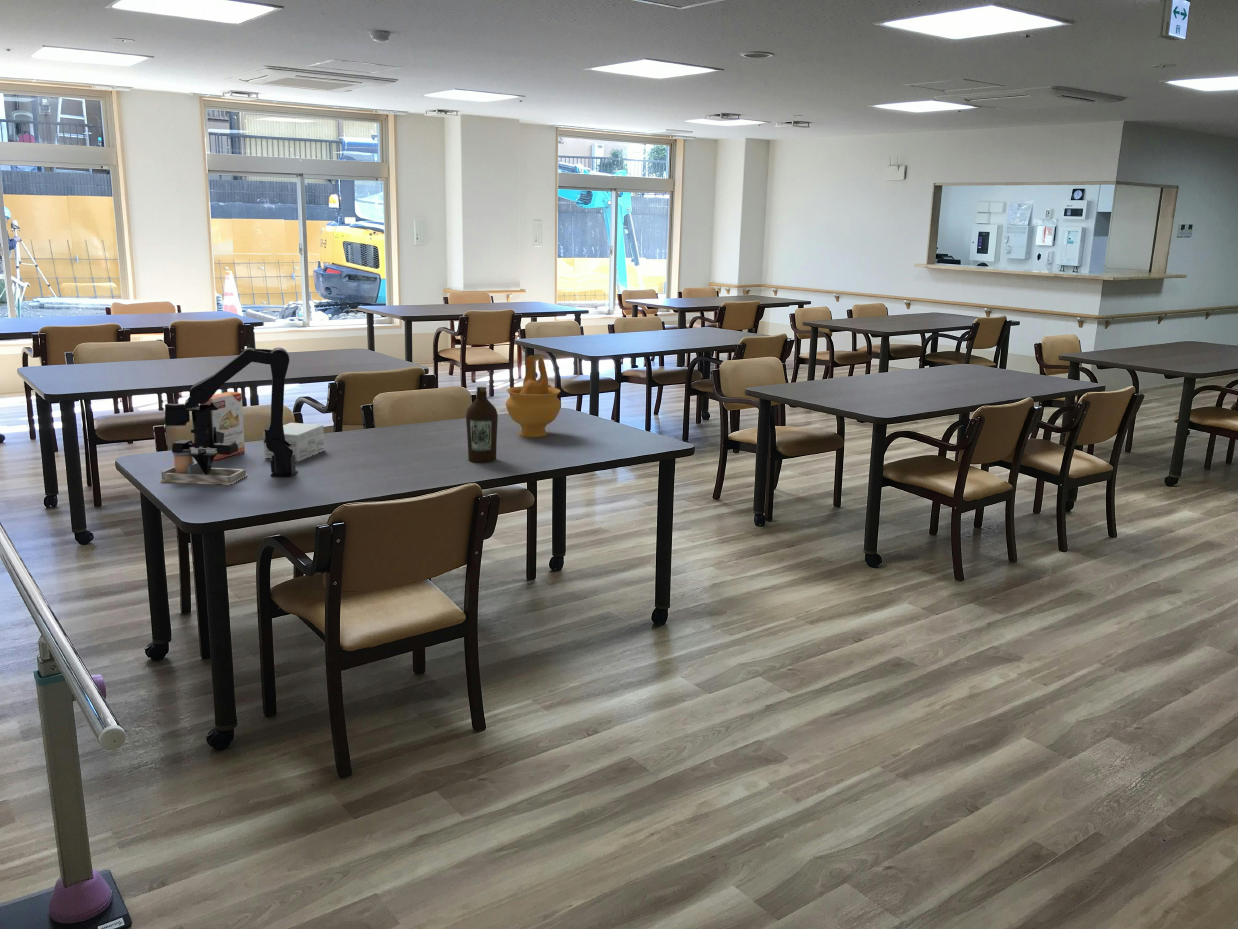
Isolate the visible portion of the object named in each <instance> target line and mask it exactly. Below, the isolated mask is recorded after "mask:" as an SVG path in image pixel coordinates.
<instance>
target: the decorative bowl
mask: <svg viewBox="0 0 1238 929" xmlns="http://www.w3.org/2000/svg"><path fill="white" fill-rule="evenodd" d="M537 363H538V364H537V365H538V371H539V374H540V375H539V376H540V377H539V379H537V377H536V373H537V372H536V370H537V369H536V365H535V364H536V360H535V356H534V355H529V356H527V357H526V358H525V363H524V364H525V368H526V369H525V370H526V373H525V377H524V379H523V381H522V386H521V385H520V386H513V387H508V388H507V389H506V392H507V393H508V394H509V395H510V396H509V397H508V398H507V399H506V402H505V407H506V410H507V413H508V415H509V417H510V419H512V421H513V422H515V423H516V424H518V425H519V426H520V427H521V430H520V432H519V435H520V434H521V436H522V437H528V438H540V437H541V438H542V437H545V436H548V433H547V431H546V427H547V426H548V425H549V424H551V423H552V422H554V421H555V420H556V419H557V417H558V415H559V413H560V411H561V407H562V402H561V400H560V398H558V395H559V394H560V393H561V390H560V389H559V388H556V387H552V386H549V378H548V374H547V369H546V364H545V361H544V359H543V357H542V356H541V355H540V356H539V357H538V359H537Z"/></svg>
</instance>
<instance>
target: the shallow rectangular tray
mask: <svg viewBox="0 0 1238 929" xmlns="http://www.w3.org/2000/svg"><path fill="white" fill-rule="evenodd" d="M246 470H247V469H245V468H243V469H242V468H225V467H211V470H210V473H209V475H205V474H204V472H203V474H201V475H200V474H180V473H175V466H174V465H173V466H171V467H168V468H165V469H164V470H162V471H161V473H160V474H161V479H160V483H162V482H163V483H179V484H180V483H181V484H195V483H196V484H198V485H201V484H202V485H215V484H222V485H221V486H231V485H230V484H232V485H233V484H235V483H237V482H239V481H241V480H242V478H243V479H245V478H247V477H248V474H247V471H246ZM246 476H247V477H246ZM244 477H245V478H244ZM240 479H241V480H240ZM238 480H239V481H238ZM236 481H237V482H236Z"/></svg>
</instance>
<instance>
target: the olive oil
mask: <svg viewBox="0 0 1238 929" xmlns="http://www.w3.org/2000/svg"><path fill="white" fill-rule="evenodd" d="M487 392H488V391H487V387H486V386H477V387H476V399H474V401H473V402H472V403H471V404H470V405H469V406H468V408H467V409H466V414H465V422H466V435H467V437H466V438H467V439H466V440H467V457H468V461H469V462H472V463H477V464H480V463H481V464H487V463H493V462H495V461H496V460H497V446H498V445H497V442H498V440H497V439H498V438H497V436H498V423H499V422H498V419H499V416H498V411H497V409H496V406H494V404H492V402H490V400H488V398H487V397H488V396H487V395H488V393H487Z"/></svg>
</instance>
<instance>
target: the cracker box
mask: <svg viewBox="0 0 1238 929" xmlns="http://www.w3.org/2000/svg"><path fill="white" fill-rule="evenodd" d="M242 396H243V394H242V392H239V391H238V392H236V391H226V392H221V393H215V394H214V395H213V396H212V397H211V398H210V399H209V400H208V402H206V403H204V404H210V403H211V402H212V401H213V403H214V404H215V405H217V406H218V410H212V417H213V426H214V427H216V431H217V432H221V433H224V442H236V444H237V445H238V451H237V452H235V453H232V454H230V455H220V454H217V455H216V456H215V458H214V460H213V461H217V460H222V459H225V458H229V457H231V456H232V455H233V456H235V455H234V454H236V455H239V454H238V453H240V454H242V453H241V452H243V453H245V452H246V448H245V446H246V445H245V430H244V415H243V414H244V412H243V411H244V410H243V409H244V408H243V397H242ZM204 404H199V405H204ZM219 444H221V443H215V445H219ZM208 448H210V447H208ZM228 456H229V457H228ZM224 457H225V458H224ZM221 458H222V459H221Z"/></svg>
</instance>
